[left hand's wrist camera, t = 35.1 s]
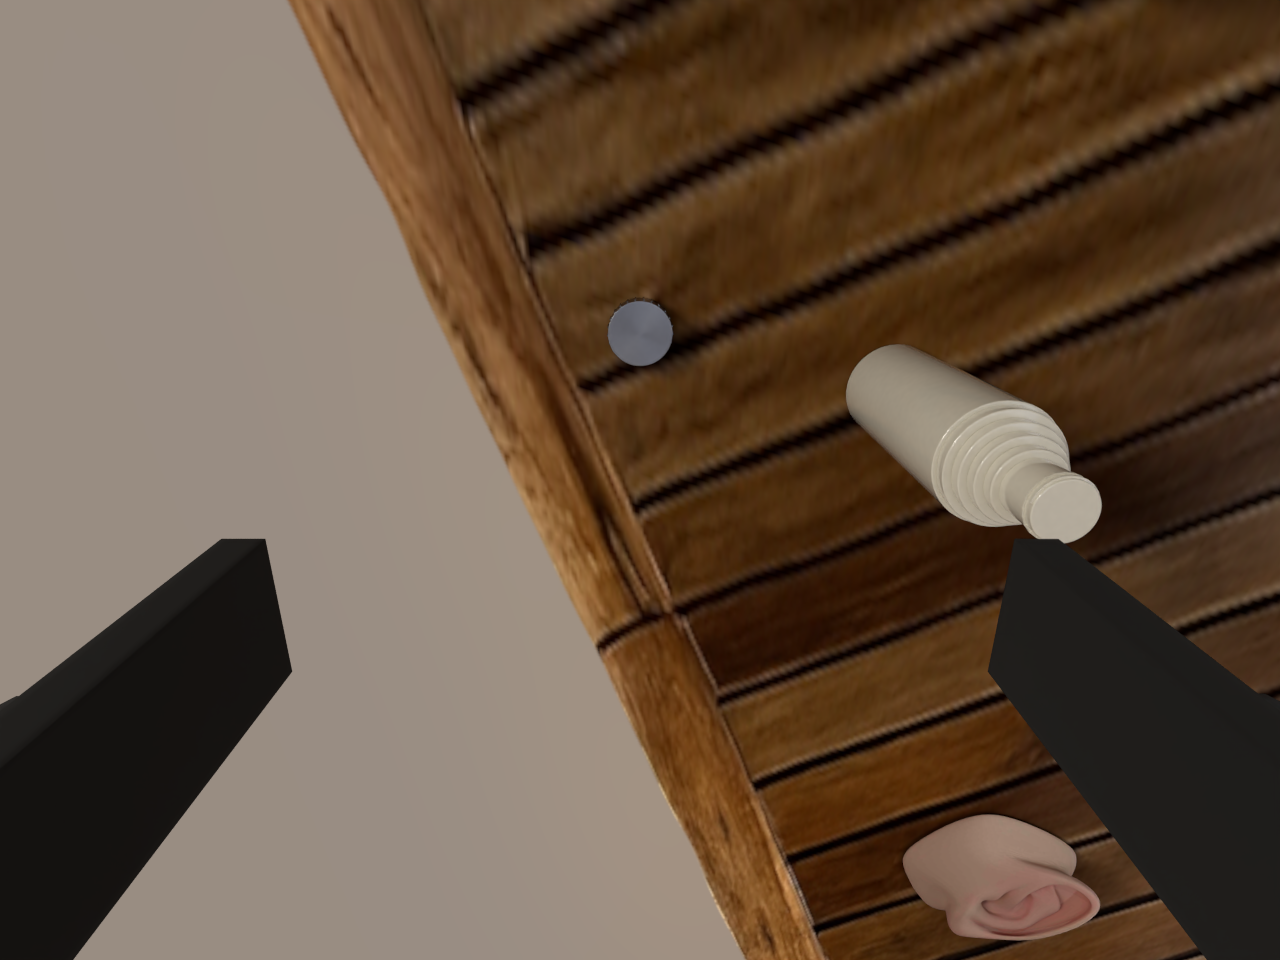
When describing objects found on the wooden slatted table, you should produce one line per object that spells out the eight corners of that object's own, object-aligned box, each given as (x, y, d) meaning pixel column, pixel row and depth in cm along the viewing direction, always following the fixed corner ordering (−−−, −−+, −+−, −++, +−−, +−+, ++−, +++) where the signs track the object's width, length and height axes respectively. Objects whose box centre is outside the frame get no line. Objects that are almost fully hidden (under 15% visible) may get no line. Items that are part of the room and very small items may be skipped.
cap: (632, 283, 43) (631, 286, 41) (685, 321, 43) (686, 325, 42) (595, 337, 44) (593, 342, 42) (648, 373, 44) (648, 379, 43)
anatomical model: (894, 917, 55) (1004, 826, 52) (878, 873, 59) (979, 785, 56) (1013, 987, 58) (1124, 905, 55) (990, 940, 62) (1093, 861, 58)
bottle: (956, 364, 44) (1179, 471, 26) (910, 447, 46) (1088, 601, 28) (873, 329, 43) (1042, 414, 25) (829, 415, 45) (957, 552, 27)
